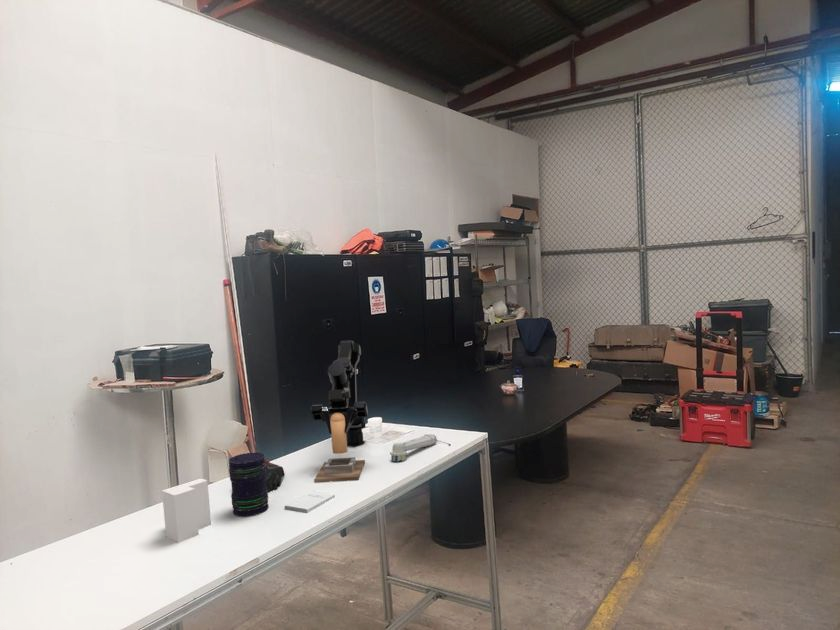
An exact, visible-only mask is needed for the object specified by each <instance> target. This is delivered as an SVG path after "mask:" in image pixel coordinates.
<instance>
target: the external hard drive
mask: <svg viewBox="0 0 840 630" xmlns="http://www.w3.org/2000/svg"><path fill="white" fill-rule="evenodd" d="M335 495H336V494H334V493H330V492H321V491H317V490H313V491H310V492H309V493H307V494H305V495H303V496H301V497H299V498H297V499H295V500H293V501H292V502H290V503H287V504H286V505H284V510H286V511H287V510H288V511H293V512H294V511H295V512H300V513H305V514H308V513H310V512H312V511H313V510H315V509H317V508H319V507H320V506H322V505H324V504H325V502H326V503H327V502H329V501H331V500H332V498H333V499H335ZM330 499H331V500H330Z"/></svg>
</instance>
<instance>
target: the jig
mask: <svg viewBox="0 0 840 630" xmlns="http://www.w3.org/2000/svg"><path fill="white" fill-rule="evenodd" d="M365 464H366V460H365V459H358V460H356V457H339V458H337V457H336V458H328V460H327V461H324V463H323V464H322V466H321V467H320V469H319V470H318V472H317V473H316V476H315V478H314V482H316V483H330V482H329V481H333V482H344V481H346V482H347V480H350V481H359V480H360V478H361V475H362V472H363V469H364V466H365Z"/></svg>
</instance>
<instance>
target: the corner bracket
mask: <svg viewBox="0 0 840 630" xmlns="http://www.w3.org/2000/svg"><path fill="white" fill-rule="evenodd" d="M161 493H162V494H161V495H162V496H161V497H162V506H163V508H162V509H163V517H164V518H163V520H164V529H165V537H167V538H168V539H170V540H172V541H175V542H176V543H178V544H179V543H181V542H185V541H186V540H189V539H191V538H195V537H197V536H199V535H200V534H199V530H201V529H204V528H206V527H209V526H211V525H212V520H211V519H212V518H211V516H212V515H211V505H210V495H209V483H208V480H207V479H204V478H198V479H195V480H191V481H189V482H186V483H183V484H178V485H176V486H173V487H169V488H166V489H163V490H161Z"/></svg>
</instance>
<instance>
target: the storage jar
mask: <svg viewBox="0 0 840 630" xmlns="http://www.w3.org/2000/svg"><path fill="white" fill-rule="evenodd" d="M265 457H266V456H265V454H264V453H261V452H248V453H241V454H237V455H234V456H232V457H230V458H228V464H229V465H228V466H229V467H228V474H229V481H230V483H231V493H230V494H231V495H230V497H231V505H232V509H233V510H232V514H233V515H234V516H236V517H240V518H245V517H246V518H247V517H248V518H249V517H254V516H257V515H260V514H262V513H263V514H264V513H265V512H267V510H268V509H269V493H268V490H267V487H266V480H265V475H266V464H265V460H266V459H265ZM264 459H265V460H264Z"/></svg>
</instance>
